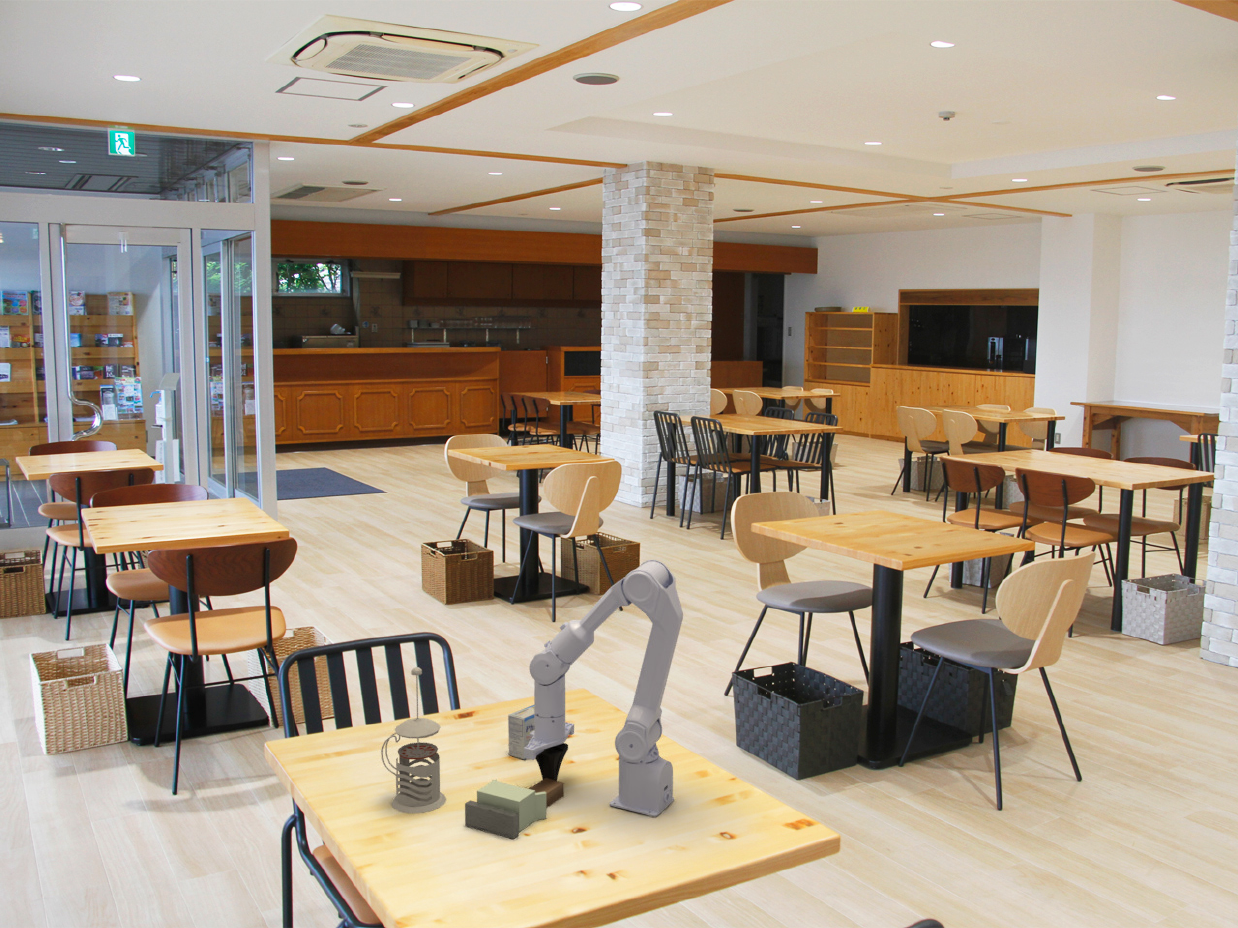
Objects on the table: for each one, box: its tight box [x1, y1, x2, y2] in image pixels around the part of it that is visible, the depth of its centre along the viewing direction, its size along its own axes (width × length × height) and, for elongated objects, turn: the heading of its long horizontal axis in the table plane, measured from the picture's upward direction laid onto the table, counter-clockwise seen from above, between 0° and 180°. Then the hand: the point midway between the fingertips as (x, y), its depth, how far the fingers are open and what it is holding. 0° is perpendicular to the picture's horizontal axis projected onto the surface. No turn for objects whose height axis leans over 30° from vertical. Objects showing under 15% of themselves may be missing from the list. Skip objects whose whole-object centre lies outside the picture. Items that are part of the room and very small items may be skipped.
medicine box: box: [507, 704, 534, 761], centre depth 209 cm, size 8×4×9 cm, turn 143°
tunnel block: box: [476, 779, 547, 833], centre depth 180 cm, size 11×7×5 cm, turn 62°
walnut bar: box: [527, 778, 565, 809], centre depth 184 cm, size 4×14×3 cm, turn 148°
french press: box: [380, 666, 447, 814], centre depth 186 cm, size 10×12×25 cm
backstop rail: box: [464, 800, 520, 840], centre depth 176 cm, size 10×2×4 cm, turn 62°
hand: (549, 782), depth 192 cm, fingers closed
